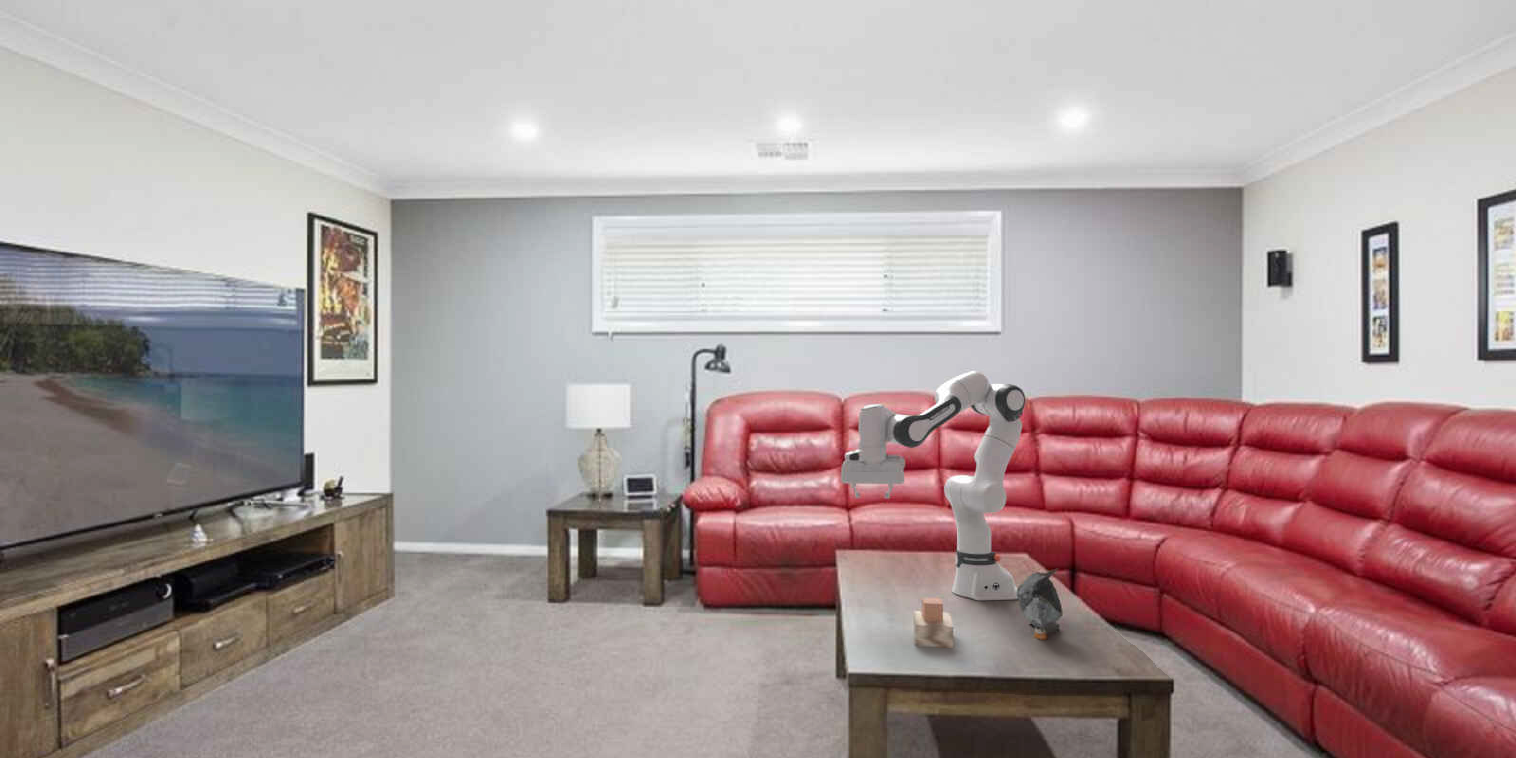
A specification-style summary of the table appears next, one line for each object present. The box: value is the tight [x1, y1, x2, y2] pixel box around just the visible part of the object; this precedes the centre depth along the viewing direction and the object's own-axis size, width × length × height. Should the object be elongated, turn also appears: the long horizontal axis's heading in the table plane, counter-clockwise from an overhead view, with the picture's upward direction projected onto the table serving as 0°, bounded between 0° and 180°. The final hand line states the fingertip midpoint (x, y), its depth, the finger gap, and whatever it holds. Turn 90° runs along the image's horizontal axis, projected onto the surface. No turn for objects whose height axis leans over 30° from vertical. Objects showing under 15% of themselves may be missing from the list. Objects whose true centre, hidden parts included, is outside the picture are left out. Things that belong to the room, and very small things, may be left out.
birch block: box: [913, 610, 954, 649], centre depth 213 cm, size 10×12×6 cm
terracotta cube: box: [921, 597, 944, 622], centre depth 213 cm, size 5×5×5 cm
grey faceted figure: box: [1016, 568, 1063, 640], centre depth 217 cm, size 14×15×18 cm
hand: (872, 497), depth 245 cm, fingers open, 8 cm apart
